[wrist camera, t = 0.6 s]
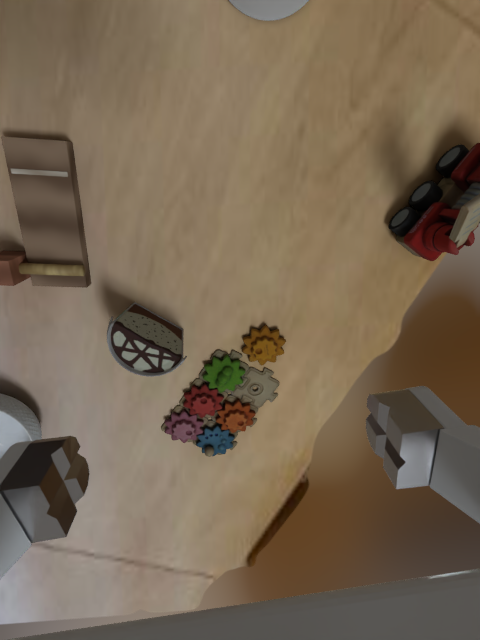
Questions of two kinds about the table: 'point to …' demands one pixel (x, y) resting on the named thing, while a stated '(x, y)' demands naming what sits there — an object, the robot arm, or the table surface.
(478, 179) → the toy fire truck
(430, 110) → the table surface
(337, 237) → the table surface
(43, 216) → the walnut board
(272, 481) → the table surface
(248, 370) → the gear puzzle
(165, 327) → the food container
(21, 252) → the toy wooden hammer
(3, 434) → the cereal bowl
